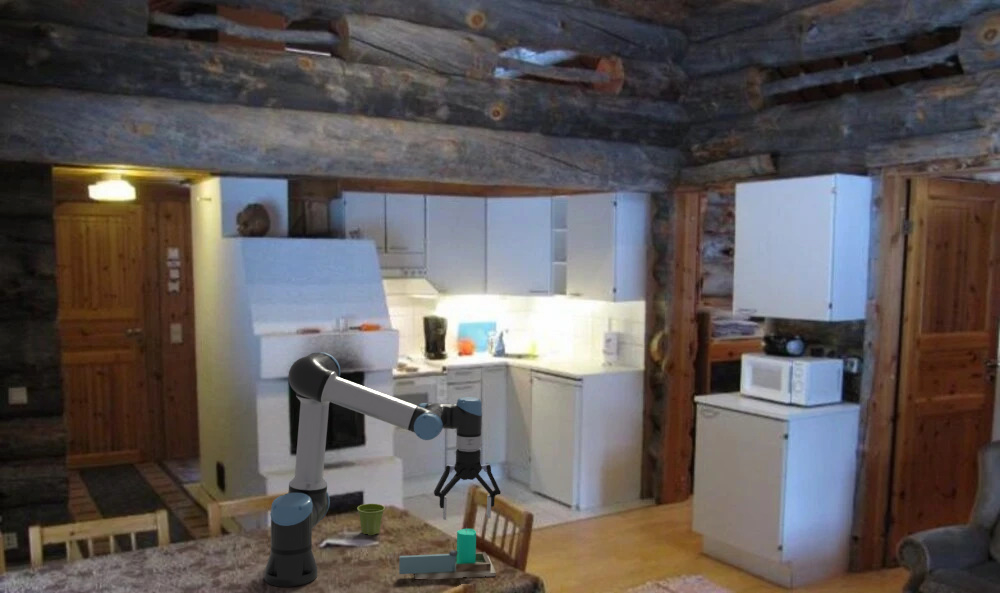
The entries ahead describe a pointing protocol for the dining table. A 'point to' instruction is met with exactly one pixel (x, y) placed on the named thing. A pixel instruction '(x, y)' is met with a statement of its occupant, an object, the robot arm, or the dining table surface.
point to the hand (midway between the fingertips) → (466, 517)
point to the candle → (466, 546)
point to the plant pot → (370, 518)
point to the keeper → (428, 563)
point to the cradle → (464, 569)
